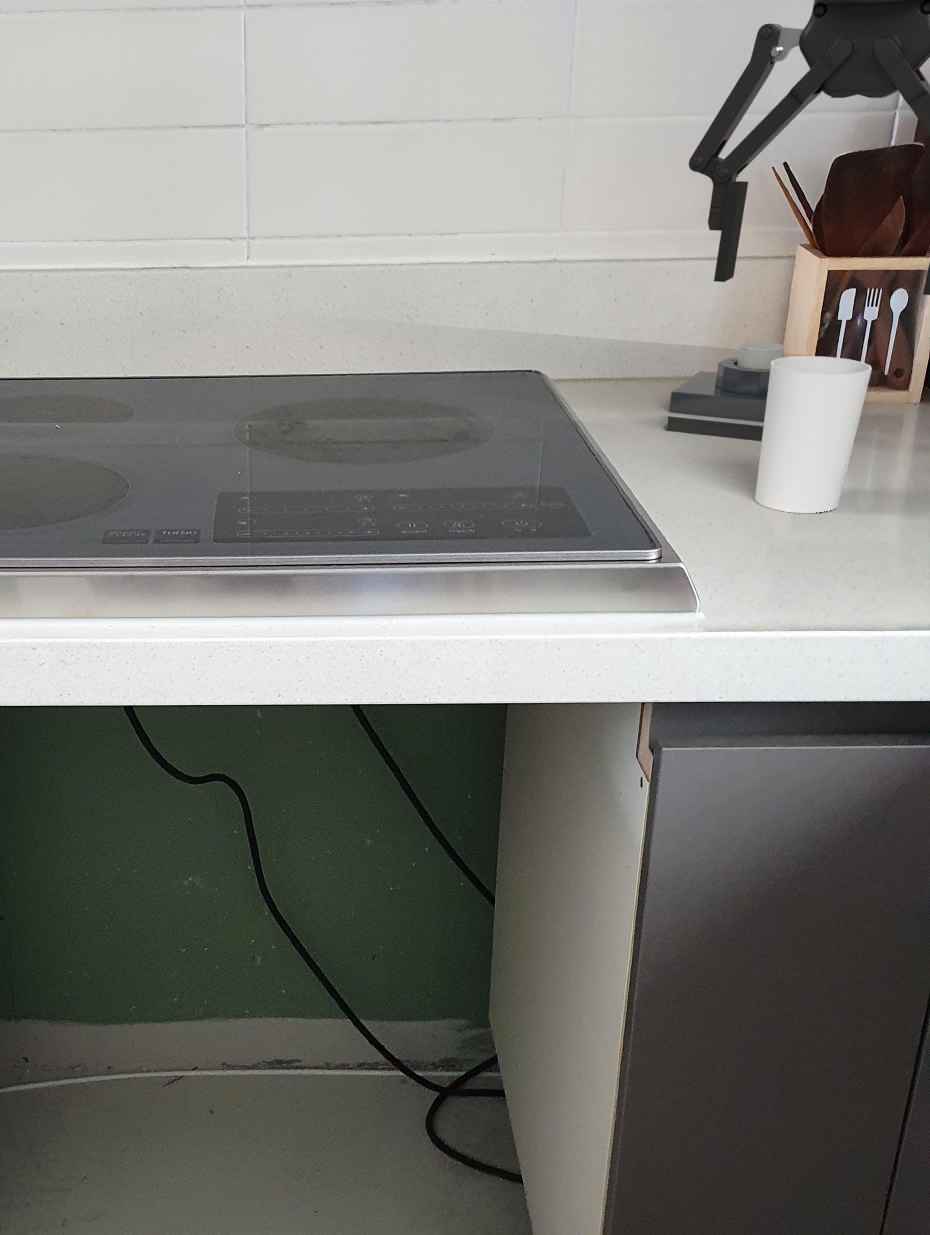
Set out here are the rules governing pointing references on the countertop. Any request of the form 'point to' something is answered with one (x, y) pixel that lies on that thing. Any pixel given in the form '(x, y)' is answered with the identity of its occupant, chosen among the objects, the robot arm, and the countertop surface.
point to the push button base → (722, 401)
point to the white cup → (809, 431)
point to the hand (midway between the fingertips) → (823, 286)
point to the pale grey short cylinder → (759, 354)
